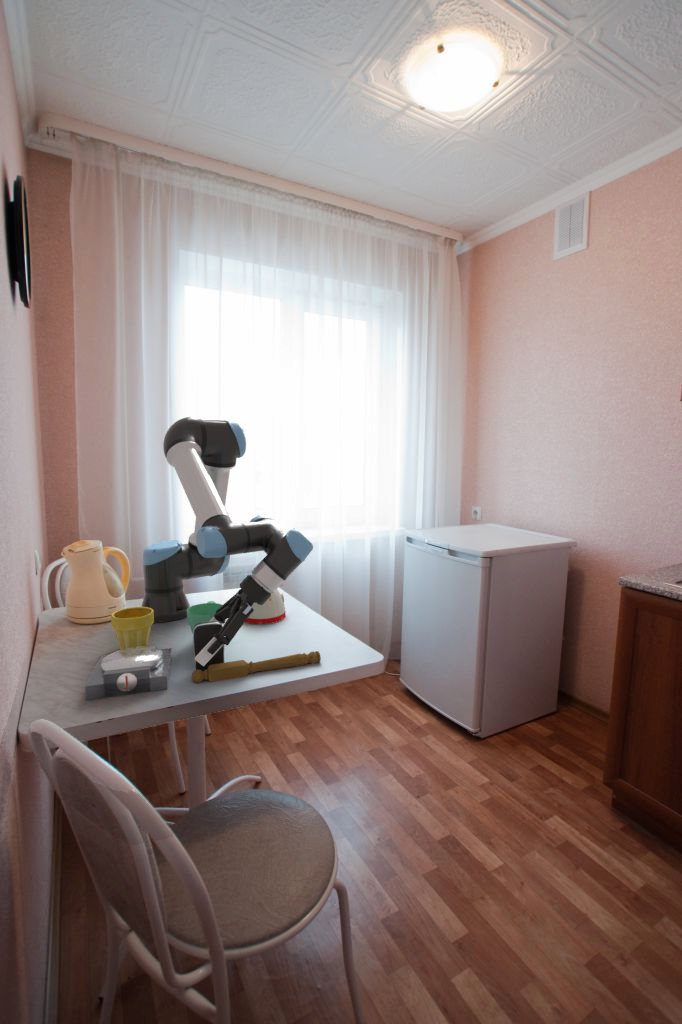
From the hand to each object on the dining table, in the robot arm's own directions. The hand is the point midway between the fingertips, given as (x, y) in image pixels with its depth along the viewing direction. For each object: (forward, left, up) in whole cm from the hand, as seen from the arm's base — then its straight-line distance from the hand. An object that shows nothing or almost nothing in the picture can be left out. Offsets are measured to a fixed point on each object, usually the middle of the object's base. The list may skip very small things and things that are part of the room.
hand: (198, 650), depth 113 cm
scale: (0, -15, -5) cm, 15 cm away
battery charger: (0, +2, -5) cm, 5 cm away
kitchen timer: (-34, +19, -5) cm, 39 cm away
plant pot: (-19, -17, -5) cm, 26 cm away
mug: (-18, +2, -5) cm, 19 cm away
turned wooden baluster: (+5, +13, -5) cm, 15 cm away
